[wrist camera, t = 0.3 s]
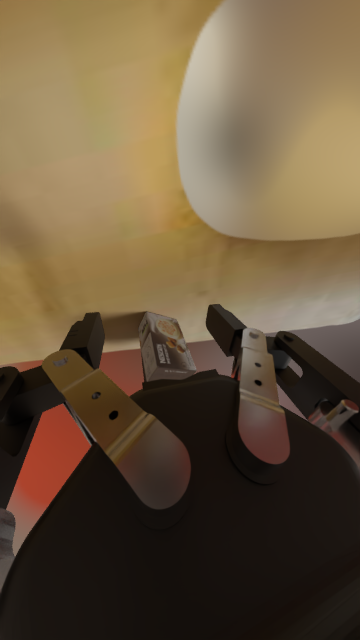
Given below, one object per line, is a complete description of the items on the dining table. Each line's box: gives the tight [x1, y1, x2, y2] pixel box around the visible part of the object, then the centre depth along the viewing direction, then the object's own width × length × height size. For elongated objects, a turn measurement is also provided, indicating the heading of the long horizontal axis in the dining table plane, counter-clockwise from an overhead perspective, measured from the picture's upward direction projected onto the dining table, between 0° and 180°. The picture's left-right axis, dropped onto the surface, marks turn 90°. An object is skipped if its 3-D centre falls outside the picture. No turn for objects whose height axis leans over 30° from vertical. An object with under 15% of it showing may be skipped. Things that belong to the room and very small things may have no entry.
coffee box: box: [138, 312, 196, 382], centre depth 37 cm, size 9×6×16 cm
